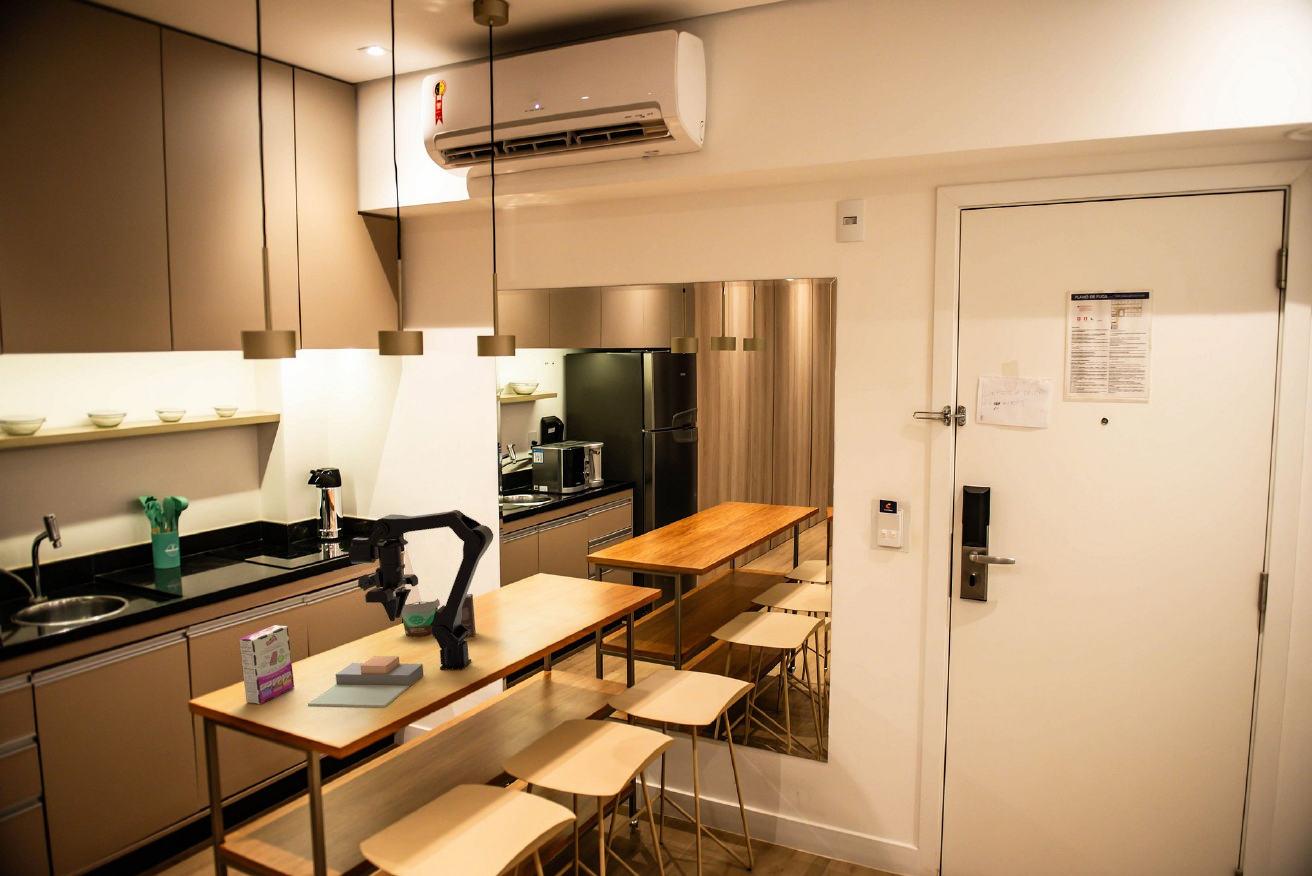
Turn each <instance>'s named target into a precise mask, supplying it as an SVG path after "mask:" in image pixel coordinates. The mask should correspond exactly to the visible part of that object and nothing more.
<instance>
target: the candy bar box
mask: <svg viewBox="0 0 1312 876" xmlns="http://www.w3.org/2000/svg"><path fill="white" fill-rule="evenodd" d="M289 636H290V635H289V628H288V625H279V624H274V625H271V626H269V627H266V628H263V629H261V630H259V631H256V632H254V633H252V634H249V635H246V636H243V637H241V638H239V641H238V643H239V649H240V658H241V665H242V674H243V683H244V692H245V693H244V694H245V702H246V703H247V702H249V703H248V704H253V703H256V704H255V705H262V704H264V703H266V702H268V701H270V700H272V699H275V698H277V697H279V696H280V695H282V694H284V693H287V692H288V691H290V690H292V689H294V688H295V680H294V673H293V662H292V656H291V655H292V653H291V643H290V637H289Z"/></svg>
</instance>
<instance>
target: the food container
mask: <svg viewBox="0 0 1312 876" xmlns="http://www.w3.org/2000/svg"><path fill="white" fill-rule="evenodd" d="M439 607H441V602H440V599H439V598H436V599H435V600H433V601H432V600H431V601H416V602H413V603H408V604H407V603H405V605H404V607H403V610H402V613H401V617H402V623H403V628H404V633H405V634H404V635H405V636H406V637H409V638H422V637H421V636H424V637H427V636H430V635H431V636H432V633H431V628H432V626H430V624H431V623H432V621H433V619H434V614H435V611H437V610H438V609H439Z"/></svg>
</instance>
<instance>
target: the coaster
mask: <svg viewBox="0 0 1312 876" xmlns="http://www.w3.org/2000/svg"><path fill="white" fill-rule="evenodd" d="M362 663H363V664H362V665H360V667H361V673H388V672H389V671H390V670H392V669H393V668H394V667H396V666H397V665H398V664H400V656H399V655H373V657H371V658H369V659H368V660H366V661H365V662H362Z"/></svg>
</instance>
